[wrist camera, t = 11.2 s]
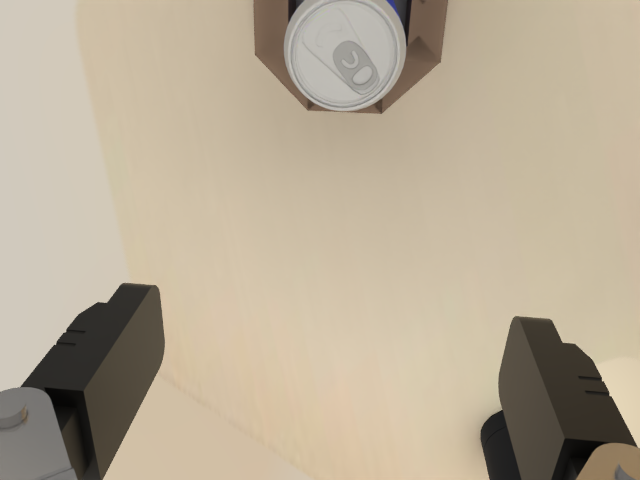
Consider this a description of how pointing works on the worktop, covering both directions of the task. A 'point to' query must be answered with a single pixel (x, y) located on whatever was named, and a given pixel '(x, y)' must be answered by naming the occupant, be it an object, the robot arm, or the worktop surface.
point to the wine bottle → (499, 449)
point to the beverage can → (345, 51)
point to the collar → (420, 32)
